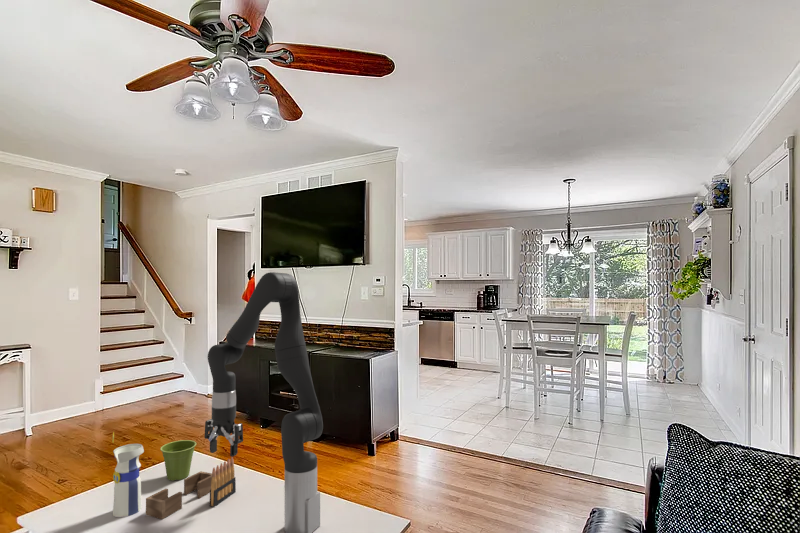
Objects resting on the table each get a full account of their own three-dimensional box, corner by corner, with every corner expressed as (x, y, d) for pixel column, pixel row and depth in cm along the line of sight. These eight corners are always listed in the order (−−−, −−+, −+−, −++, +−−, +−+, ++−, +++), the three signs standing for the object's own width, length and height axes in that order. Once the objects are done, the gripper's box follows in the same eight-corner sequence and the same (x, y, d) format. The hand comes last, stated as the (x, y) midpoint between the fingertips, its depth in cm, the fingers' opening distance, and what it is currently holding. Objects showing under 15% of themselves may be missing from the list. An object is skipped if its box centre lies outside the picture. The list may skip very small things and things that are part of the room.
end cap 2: (183, 494, 148) (184, 479, 148) (200, 485, 154) (200, 471, 155) (199, 498, 145) (199, 482, 145) (216, 489, 152) (216, 474, 152)
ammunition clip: (214, 507, 139) (214, 468, 140) (209, 506, 140) (209, 468, 140) (235, 492, 150) (236, 456, 150) (231, 491, 150) (231, 455, 151)
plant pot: (152, 484, 156) (153, 451, 157) (171, 470, 168) (171, 439, 168) (185, 484, 156) (186, 451, 156) (202, 470, 168) (202, 440, 168)
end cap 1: (181, 508, 139) (181, 492, 139) (162, 519, 132) (162, 502, 133) (165, 504, 141) (165, 488, 142) (145, 514, 135) (145, 498, 135)
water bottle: (120, 521, 132) (121, 435, 133) (106, 513, 136) (107, 431, 137) (148, 509, 139) (149, 428, 140) (133, 502, 143) (135, 423, 144)
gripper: (249, 403, 147) (248, 453, 146) (216, 399, 152) (215, 446, 152) (232, 409, 140) (231, 461, 139) (198, 404, 145) (198, 454, 145)
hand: (223, 453), depth 145 cm, fingers open, 8 cm apart
